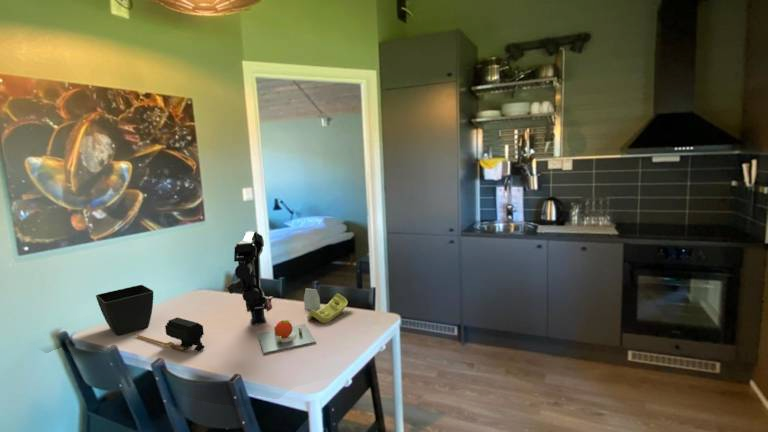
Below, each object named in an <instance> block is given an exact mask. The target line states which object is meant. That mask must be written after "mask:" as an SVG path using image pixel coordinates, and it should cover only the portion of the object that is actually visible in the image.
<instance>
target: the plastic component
mask: <svg viewBox="0 0 768 432" xmlns="http://www.w3.org/2000/svg"><path fill="white" fill-rule="evenodd" d="M348 302H349V301H348V300H347V298H346V297H345V296H343V295H341V294H340V293H335V294H334V296H333V297H332V298H331V300H329V301H328V303H327V304H325V305H323V306H322V307H320V309H318V310H317V311H315V310H309V313H308V315H307V317H306V318H307V320H312V319H314V318H315V319H316V320H317V321H319V322H320V323H323V324H328V323H329V322H330V321H332V320H334V319H335V318H336V317H339V315H340V314H341V312H342V311H343V310H344V309H345V308H346V307H347V305H348ZM327 322H328V323H327Z"/></svg>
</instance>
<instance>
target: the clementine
mask: <svg viewBox="0 0 768 432" xmlns="http://www.w3.org/2000/svg"><path fill="white" fill-rule="evenodd" d="M291 322H292V323H293V321H292V320H288V319H284V320H280V321H278V322H277V323H276V325H275V326H274V327H275V333H276V335H277V336H281V338H286V337H288V336H289V335H290V334H291V333H292V327H293V325H292V323H291Z"/></svg>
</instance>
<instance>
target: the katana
mask: <svg viewBox="0 0 768 432" xmlns="http://www.w3.org/2000/svg"><path fill="white" fill-rule="evenodd" d="M135 336H136V337H137V338H138V339H142V340H145V341H147V342H151V343H154V344H158V345H160V346H164V347H165V348H166V347H167V348H168V349H172V350H174V349H177V350H181V351H184V352H185V351H187V348H186V347H183V346H181V345H176V344H175V343H174V342H171V341H168V342H164V341H161V340H157V339H154V338H149V337H146V336H143V335H139V334H137V333H136V334H135Z"/></svg>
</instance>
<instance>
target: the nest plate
mask: <svg viewBox="0 0 768 432" xmlns="http://www.w3.org/2000/svg"><path fill="white" fill-rule="evenodd" d="M298 327H301V328H302V335H299V328H298ZM257 337H258V340H259V343H260V347H261V350H262V353H263V356H265V355H269V354H273V353H279V352H283V351H288V350H291V349H296V348H300V347H305V346H310V345H315V344H317V341H316V340H315V338H314V336H313V335H312V333H311V332H310V330H309V328H308V327H307V325H306V324H305V323H303V324H298V325H294V326H293V325H292V333H291V334H290V335H289V336H288V337H286V338H282V344H279V340H278V336H277V335H275V330H274V329H273V330H268V331H263V332H258V333H257Z"/></svg>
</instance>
